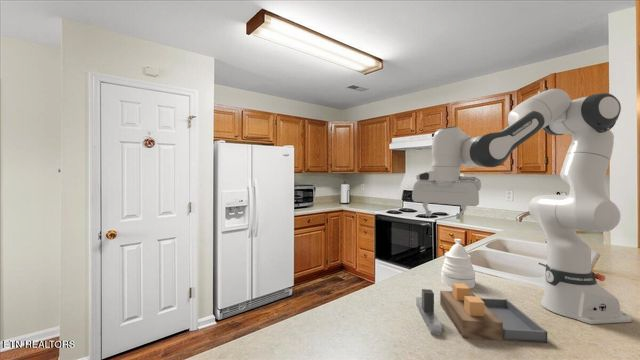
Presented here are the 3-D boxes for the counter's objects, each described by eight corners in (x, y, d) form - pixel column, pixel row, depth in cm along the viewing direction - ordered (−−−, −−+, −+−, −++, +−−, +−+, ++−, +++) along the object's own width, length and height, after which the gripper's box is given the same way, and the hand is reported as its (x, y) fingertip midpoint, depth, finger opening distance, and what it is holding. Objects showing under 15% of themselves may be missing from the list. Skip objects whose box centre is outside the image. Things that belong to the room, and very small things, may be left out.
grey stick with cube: (424, 306, 98) (425, 280, 98) (441, 335, 80) (441, 304, 80) (416, 305, 98) (416, 280, 98) (430, 334, 80) (430, 304, 80)
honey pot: (440, 275, 127) (441, 236, 126) (472, 279, 122) (473, 238, 122) (442, 285, 115) (442, 242, 114) (477, 290, 110) (477, 245, 110)
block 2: (477, 309, 84) (478, 296, 84) (484, 316, 80) (484, 302, 80) (464, 308, 85) (464, 296, 85) (469, 315, 81) (469, 302, 81)
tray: (506, 307, 96) (506, 299, 96) (547, 342, 76) (547, 332, 76) (471, 306, 97) (471, 297, 97) (502, 340, 77) (502, 329, 77)
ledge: (471, 306, 97) (471, 292, 97) (502, 340, 77) (502, 322, 77) (440, 304, 98) (440, 290, 98) (462, 337, 78) (463, 320, 78)
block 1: (464, 295, 94) (464, 283, 94) (469, 300, 90) (469, 288, 90) (452, 294, 95) (452, 283, 95) (456, 300, 91) (456, 288, 91)
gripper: (481, 177, 89) (480, 220, 89) (416, 175, 100) (414, 213, 100) (480, 176, 83) (478, 222, 84) (411, 174, 95) (409, 215, 95)
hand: (443, 217), depth 92 cm, fingers open, 8 cm apart
